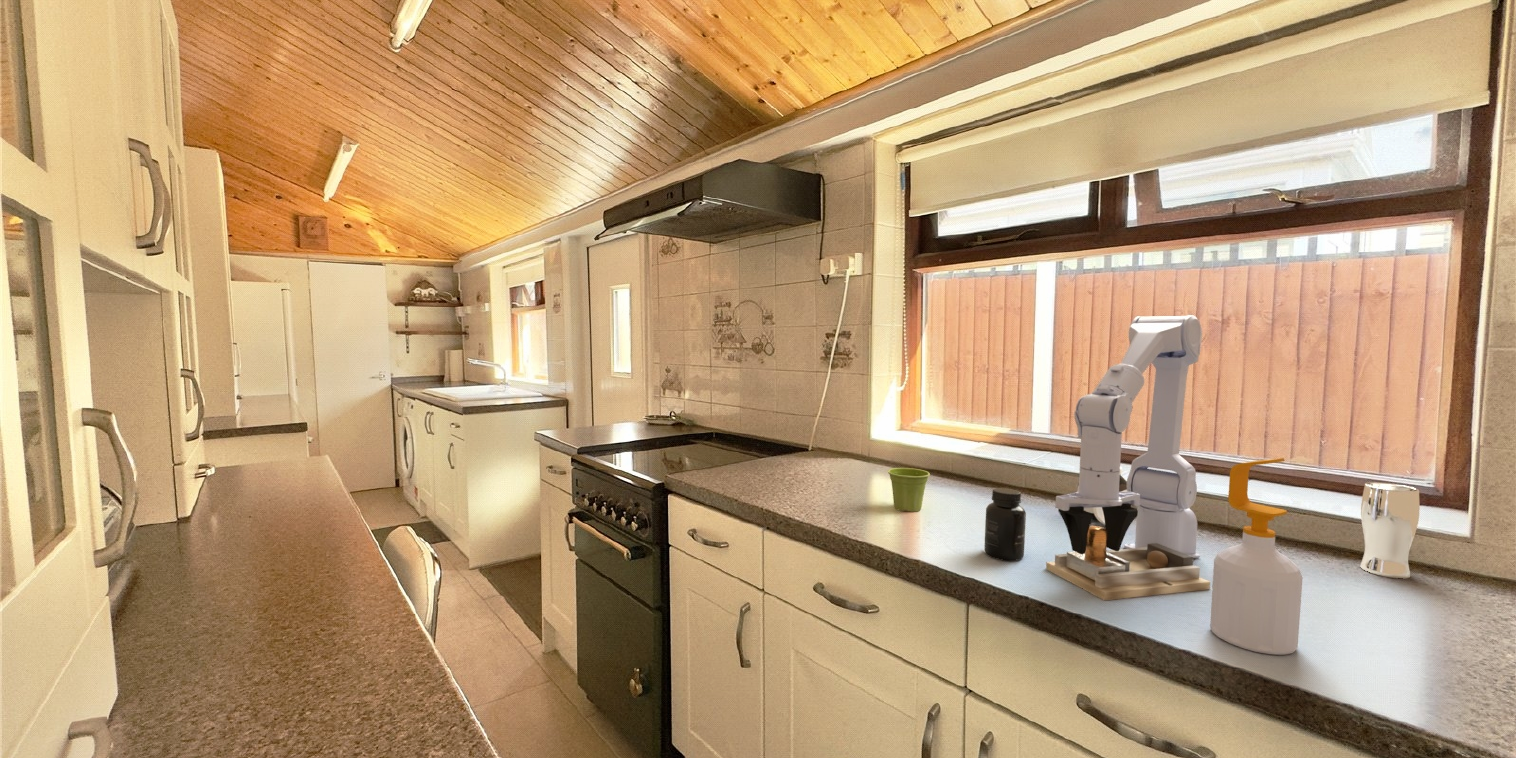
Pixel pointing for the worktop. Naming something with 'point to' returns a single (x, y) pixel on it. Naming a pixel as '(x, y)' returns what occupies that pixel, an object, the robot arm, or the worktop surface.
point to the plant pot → (908, 488)
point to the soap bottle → (1255, 580)
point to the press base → (1138, 574)
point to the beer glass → (1388, 527)
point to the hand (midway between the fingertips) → (1095, 550)
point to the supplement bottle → (1005, 526)
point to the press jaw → (1096, 556)
